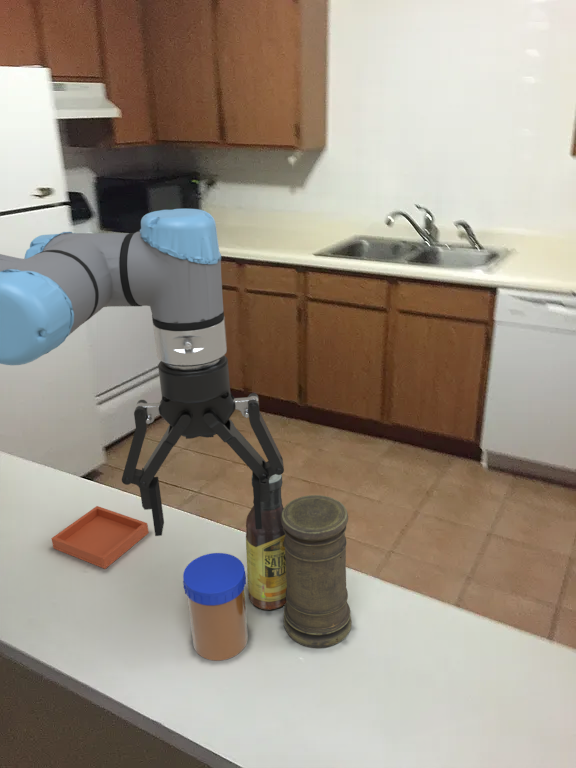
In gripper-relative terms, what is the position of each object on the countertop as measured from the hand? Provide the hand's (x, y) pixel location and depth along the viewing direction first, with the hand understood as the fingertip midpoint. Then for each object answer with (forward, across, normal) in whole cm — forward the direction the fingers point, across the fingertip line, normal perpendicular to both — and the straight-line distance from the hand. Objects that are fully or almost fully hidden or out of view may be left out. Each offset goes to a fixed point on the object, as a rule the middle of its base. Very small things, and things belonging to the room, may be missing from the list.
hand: (209, 525), depth 81 cm
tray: (+18, -20, +24) cm, 36 cm away
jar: (+18, 0, 0) cm, 18 cm away
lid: (+7, 0, 0) cm, 7 cm away
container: (+18, +13, +2) cm, 22 cm away
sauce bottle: (+18, +7, +8) cm, 21 cm away
